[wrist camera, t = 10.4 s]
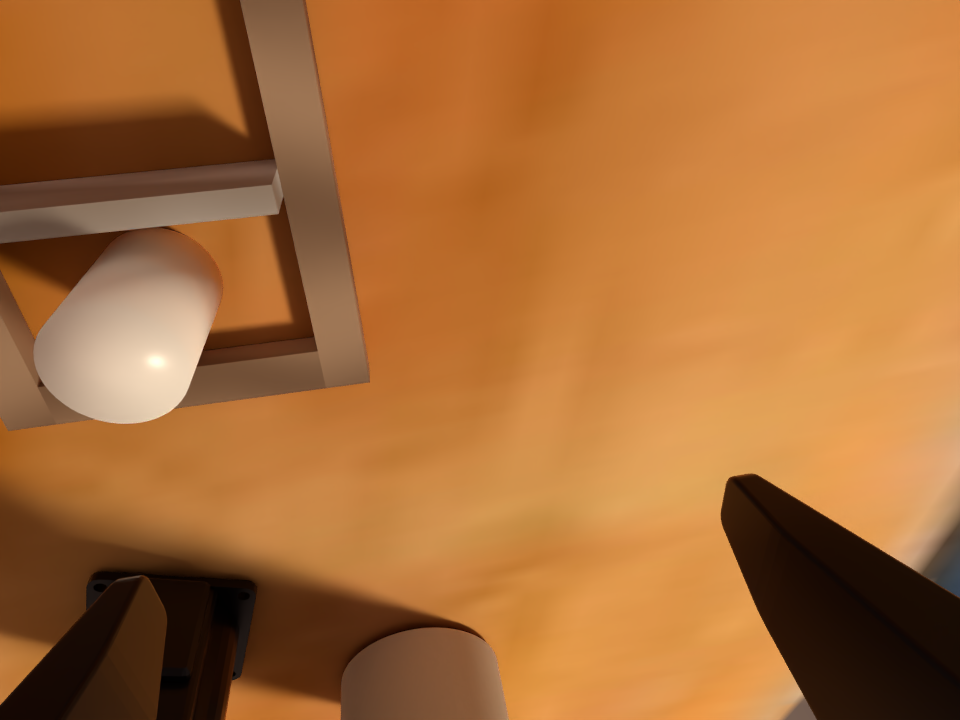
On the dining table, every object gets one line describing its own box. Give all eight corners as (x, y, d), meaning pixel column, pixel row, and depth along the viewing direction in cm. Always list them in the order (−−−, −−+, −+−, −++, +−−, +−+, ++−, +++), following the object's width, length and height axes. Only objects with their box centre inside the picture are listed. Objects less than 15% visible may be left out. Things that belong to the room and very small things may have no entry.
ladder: (369, 366, 24) (370, 407, 22) (21, 412, 22) (-14, 461, 20) (152, -878, 11) (102, -1081, 8) (-716, -936, 9) (-1025, -1190, 7)
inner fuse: (235, 324, 22) (207, 413, 18) (122, 337, 22) (67, 432, 17) (205, 221, 20) (166, 294, 16) (80, 234, 20) (7, 313, 15)
